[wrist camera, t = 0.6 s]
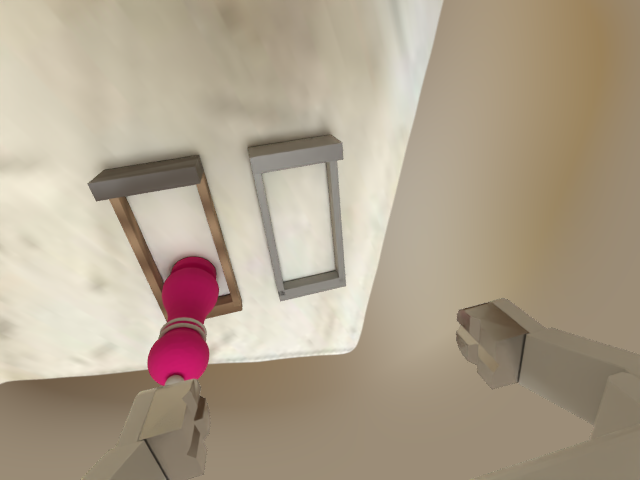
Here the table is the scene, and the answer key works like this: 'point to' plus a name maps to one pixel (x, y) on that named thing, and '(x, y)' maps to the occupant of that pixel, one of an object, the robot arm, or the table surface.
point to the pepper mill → (184, 322)
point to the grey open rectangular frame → (329, 152)
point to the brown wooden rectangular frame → (159, 178)
